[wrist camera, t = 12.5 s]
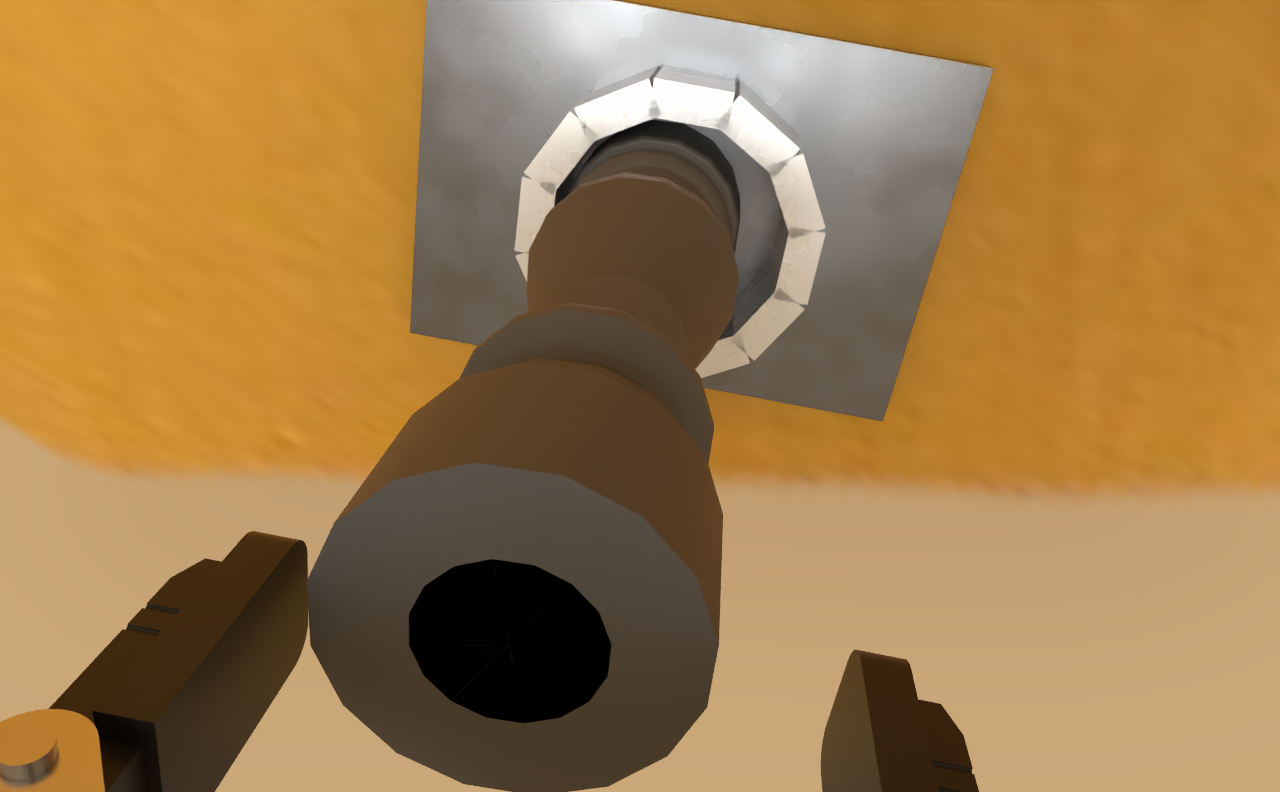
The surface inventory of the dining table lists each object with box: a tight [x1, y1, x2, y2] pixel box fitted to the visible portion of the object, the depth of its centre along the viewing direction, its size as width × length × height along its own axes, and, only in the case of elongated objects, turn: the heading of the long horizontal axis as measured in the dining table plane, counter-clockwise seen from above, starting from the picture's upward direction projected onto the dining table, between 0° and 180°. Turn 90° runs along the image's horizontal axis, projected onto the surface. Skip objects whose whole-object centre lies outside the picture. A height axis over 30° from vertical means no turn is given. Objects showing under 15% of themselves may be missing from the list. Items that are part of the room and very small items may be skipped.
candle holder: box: [307, 120, 740, 792], centre depth 24 cm, size 6×6×25 cm
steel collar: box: [410, 0, 993, 421], centre depth 34 cm, size 20×14×5 cm
